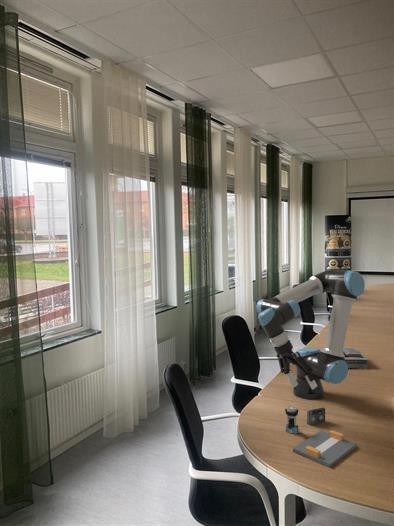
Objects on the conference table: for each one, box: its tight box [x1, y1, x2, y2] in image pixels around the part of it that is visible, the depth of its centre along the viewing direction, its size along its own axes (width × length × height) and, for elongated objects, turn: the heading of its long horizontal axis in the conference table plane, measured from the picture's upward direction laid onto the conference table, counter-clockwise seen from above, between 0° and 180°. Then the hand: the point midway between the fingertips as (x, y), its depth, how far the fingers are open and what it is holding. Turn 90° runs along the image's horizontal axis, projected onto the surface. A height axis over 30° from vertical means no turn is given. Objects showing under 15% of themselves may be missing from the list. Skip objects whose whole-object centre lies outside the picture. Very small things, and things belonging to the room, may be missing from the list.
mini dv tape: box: [306, 407, 326, 426], centre depth 174 cm, size 8×2×6 cm, turn 110°
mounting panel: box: [292, 429, 358, 469], centre depth 152 cm, size 20×15×3 cm
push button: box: [284, 405, 303, 435], centre depth 166 cm, size 7×5×10 cm
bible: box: [343, 347, 369, 369], centre depth 253 cm, size 23×27×10 cm
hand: (304, 386), depth 174 cm, fingers open, 13 cm apart
